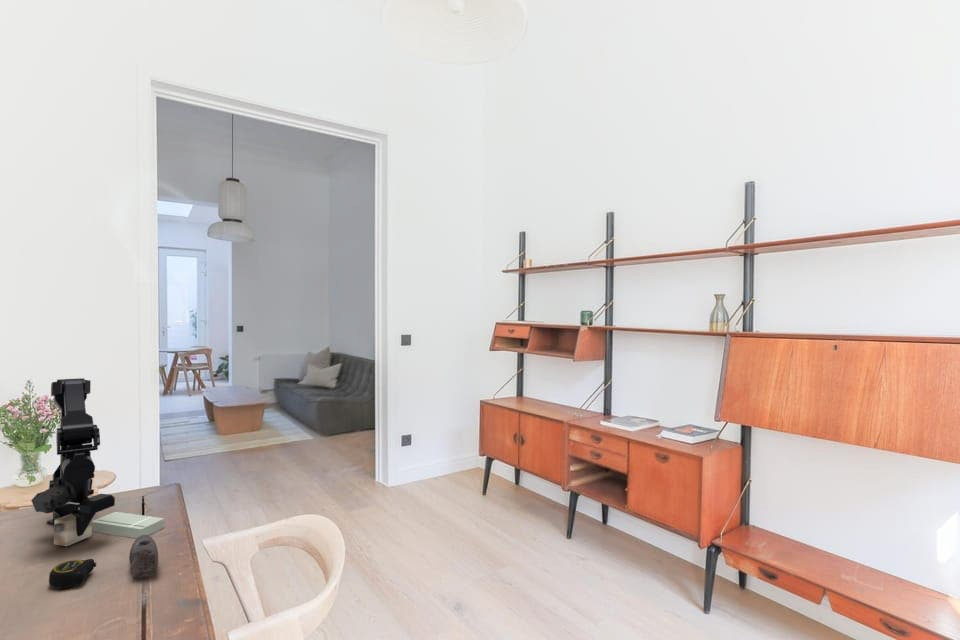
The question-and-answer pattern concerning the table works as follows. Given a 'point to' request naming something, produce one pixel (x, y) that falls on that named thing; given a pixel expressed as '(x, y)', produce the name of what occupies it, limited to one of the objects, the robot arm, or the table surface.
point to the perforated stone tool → (143, 557)
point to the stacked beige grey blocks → (68, 531)
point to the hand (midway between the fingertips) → (73, 534)
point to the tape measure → (70, 573)
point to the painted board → (127, 524)
